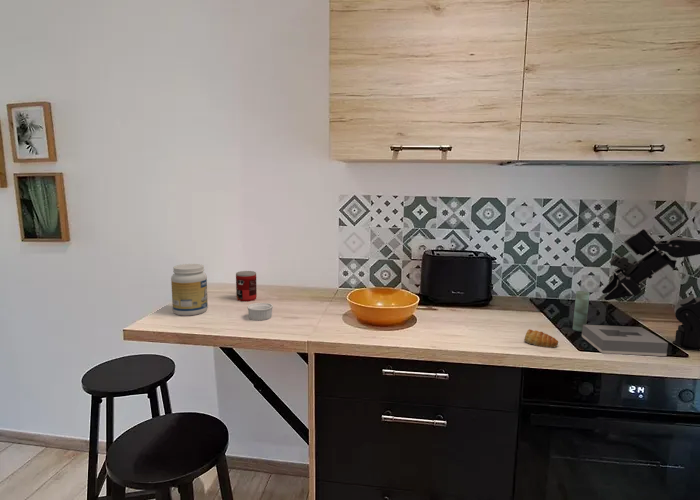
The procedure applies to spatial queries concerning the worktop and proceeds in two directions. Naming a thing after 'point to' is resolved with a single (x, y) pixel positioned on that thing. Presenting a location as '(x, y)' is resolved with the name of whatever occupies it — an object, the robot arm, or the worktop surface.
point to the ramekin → (260, 311)
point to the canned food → (246, 286)
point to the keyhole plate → (624, 340)
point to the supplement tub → (189, 289)
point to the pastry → (540, 339)
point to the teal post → (580, 310)
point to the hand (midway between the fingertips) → (603, 295)
